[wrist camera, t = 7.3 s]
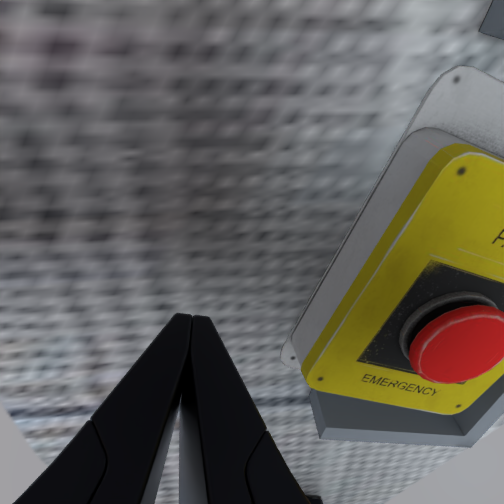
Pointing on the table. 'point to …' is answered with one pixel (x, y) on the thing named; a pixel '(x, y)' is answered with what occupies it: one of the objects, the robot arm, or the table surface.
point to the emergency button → (419, 265)
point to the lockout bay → (406, 419)
